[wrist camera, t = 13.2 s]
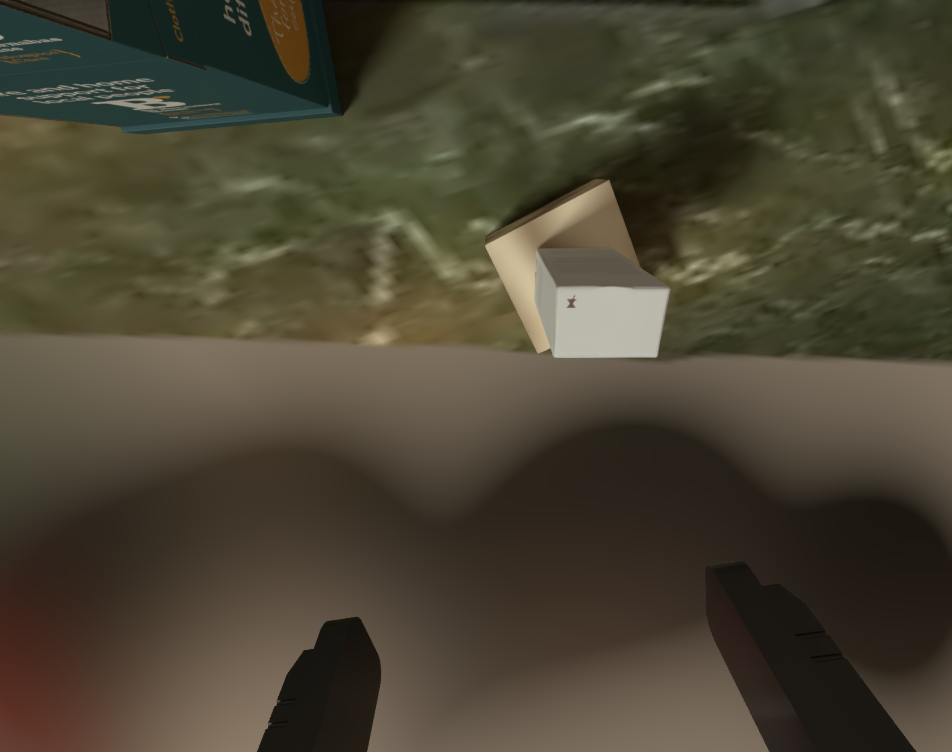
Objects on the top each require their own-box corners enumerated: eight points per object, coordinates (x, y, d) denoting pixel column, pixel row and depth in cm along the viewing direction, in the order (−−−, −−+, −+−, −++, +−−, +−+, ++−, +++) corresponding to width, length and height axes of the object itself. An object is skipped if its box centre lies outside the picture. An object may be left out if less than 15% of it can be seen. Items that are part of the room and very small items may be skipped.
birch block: (594, 178, 36) (609, 180, 32) (634, 286, 40) (652, 301, 36) (485, 236, 39) (484, 245, 34) (532, 333, 42) (538, 353, 38)
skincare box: (533, 301, 36) (549, 359, 25) (535, 247, 34) (555, 283, 23) (609, 301, 36) (659, 360, 25) (616, 247, 34) (673, 284, 23)
